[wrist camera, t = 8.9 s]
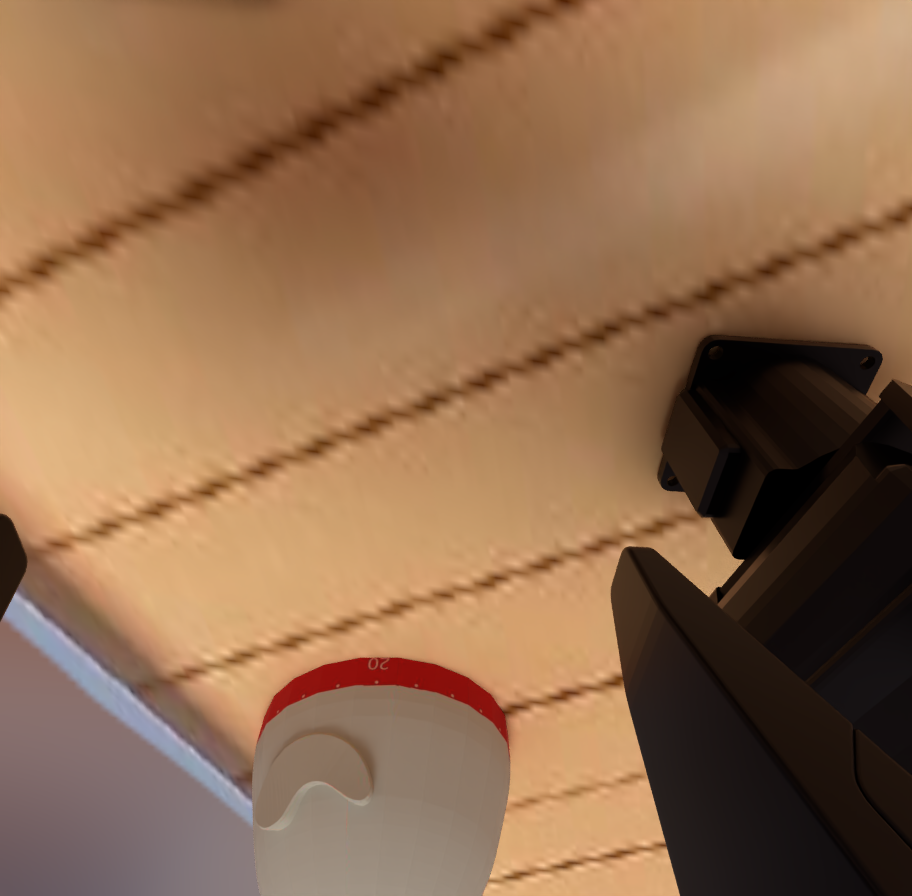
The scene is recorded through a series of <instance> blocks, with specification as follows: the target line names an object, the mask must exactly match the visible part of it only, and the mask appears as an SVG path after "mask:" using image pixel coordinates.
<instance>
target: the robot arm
mask: <svg viewBox="0 0 912 896" xmlns="http://www.w3.org/2000/svg"><path fill="white" fill-rule="evenodd" d="M715 346H719V349H718V351H717V352H716V353H715V354H713V355H708V354H709V351H710V349H712V348H713V347H715ZM866 357H868V359H867V361H866V362H865V363H863V364H861V365H860V363H861V361H862V360H863V359H864V358H866ZM882 360H883V358H882V354H881V353H880V352H879V351H878V350H876V349H875V348H873V347H871V346H868V345H854V344H839V343H825V342H810V341H795V340H780V339H765V338H751V337H736V336H721V335H713V336H709V337H707V338H705V339H704V340H703V341H702V342H700V344H699V346H698V348H697V352H696V355H695V358H694V361H693V364H692V367H691V371H690V374H689V377H688V380H687V383H686V387H685V389H684V390H683V391H682V392H681V393H679V394H678V396H677V399H676V402H675V406H674V409H673V412H672V415H671V419H670V422H669V425H668V428H667V432H666V435H665V438H664V441H663V445H662V448H661V450H662V452H663V454H664V457H663V460H662V463H661V466H660V469H659V473H658V480H659V483H660V484H661V486H662V488H663V489H665V490H667V491H678V492H685V493H686V495H687V496H688V498H689V500H690V502H691V503H692V505H693V507H694V509H695V510H696V512H697V513H698V514H699V515H700V516H701V517H702V518H711V520H712V522H713V524H714V525H715V527H716V529H717V530H718V532H719V534H720V535H721V537H722V539H723V540H724V542H725V544H726V545H727V547H728V549H729V551H730V552H731V554H732V556H733V557H734V558H736V559H740V560H744V561H743V563H742V564H741V565H740V566H739V567H738V568H737V570H736V571H735V572H734V573H733V574H732V576H731V577H730V578H729V579H728V580H727V581H726V583H725V584H724V585H723V586H722V587H717V588H716V589H715V590H714V591H713V593H712V594H711V595H710V596H709V597H708V596H707V595H705V594H704V593H703V592H702V591H701V590H700V589H699V588H697V587H696V586H695V585H694V584H693V583H692V582H691V581H689V580H688V579H687V578H686V577H685V576H684V575H683V574H682V573H680V572H679V571H678V570H677V569H676V568H675V567H674V566H672V565H671V564H670V563H669V562H668V561H667V560H666V559H664V558H663V557H662V556H661V555H660V554H659V553H658V552H657V551H655V550H654V549H652V548H648V547H631V546H629V547H626V548H624V550H623V551H622V553H621V556H620V559H619V562H618V566H617V569H616V572H615V576H614V579H613V582H612V586H611V603H612V610H613V617H614V623H615V630H616V636H617V643H618V649H619V656H620V662H621V669H622V675H623V681H624V687H625V692H626V697H627V701H628V705H629V709H630V713H631V717H632V720H633V724H634V728H635V732H636V735H637V739H638V743H639V746H640V750H641V754H642V757H643V761H644V765H645V768H646V772H647V776H648V779H649V783H650V787H651V790H652V794H653V798H654V801H655V805H656V809H657V812H658V816H659V820H660V823H661V827H662V831H663V835H664V838H665V842H666V846H667V849H668V853H669V857H670V860H671V864H672V868H673V871H674V875H675V879H676V882H677V886H678V890H679V893H680V896H912V386H910V385H908V384H905V383H903V382H900V381H897V380H895V379H893V380H892V381H891V382H890V383H889V384H888V385H887V387H886V388H885V389H884V390H883V391H882V393H881V394H880V395H879V397H880V398H881V400H880V401H879V403H878V404H877V403H875V402H874V401H873V400H871V399H870V398H869V397H867V396H866V393H867V391H868V389H869V387H870V385H871V383H872V381H873V379H874V377H875V375H876V373H877V371H878V369H879V367H880V365H881V363H882ZM671 476H676V477H675V478H674V479H672V480H668V478H669V477H671ZM26 568H27V555H26V552H25V550H24V547H23V545H22V543H21V540H20V538H19V535H18V533H17V531H16V528H15V526H14V524H13V522H12V520H11V519H10V518H9V517H8V516H7V515H4V514H0V621H1V619H2V618H3V616H4V614H5V612H6V610H7V608H8V606H9V604H10V602H11V600H12V598H13V596H14V594H15V592H16V590H17V588H18V586H19V584H20V582H21V580H22V578H23V576H24V574H25V572H26Z"/></svg>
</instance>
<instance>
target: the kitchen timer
mask: <svg viewBox="0 0 912 896" xmlns="http://www.w3.org/2000/svg"><path fill="white" fill-rule="evenodd" d="M509 783H510V754H509V742H508V733H507V727H506V720H505V715H504V713H503V712H502V710H501V709H500V707H499V706H498V704H497V703H496V701H495V700H494V699H493V697H492V696H491V695H490V694H489V693H488V692H486V691H485V690H484V689H482V688H481V687H480V686H478V685H477V684H476V683H474V682H473V681H472V680H470V679H469V678H467V677H465V676H462V675H460V674H458V673H455V672H453V671H450V670H448V669H445V668H443V667H440V666H438V665H435V664H430V663H424V662H419V661H413V660H408V659H402V658H357V659H352V660H347V661H342V662H337V663H332V664H327V665H323V666H321V667H319V668H317V669H314V670H312V671H310V672H308V673H306V674H303V675H301V676H299V677H297V678H294V679H293V680H292V681H291V682H290V683H289V684H288V685H286V686H285V687H284V688H283V689H282V690H281V691H280V692H279V693H277V694H276V695H275V696H274V698H273V700H272V702H271V704H270V706H269V708H268V710H267V712H266V715H265V717H264V720H263V724H262V727H261V731H260V734H259V738H258V741H257V745H256V750H255V756H254V765H253V779H252V802H253V836H254V854H255V865H256V874H257V880H258V886H259V891H260V895H261V896H482V895H483V892H484V890H485V887H486V885H487V882H488V880H489V877H490V874H491V871H492V867H493V864H494V860H495V857H496V852H497V848H498V843H499V839H500V834H501V830H502V825H503V820H504V815H505V810H506V805H507V799H508V793H509Z"/></svg>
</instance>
